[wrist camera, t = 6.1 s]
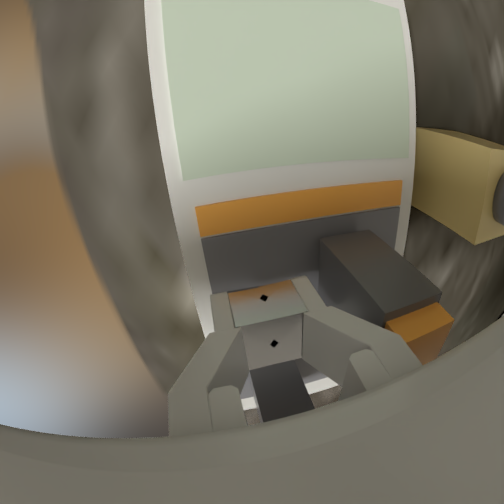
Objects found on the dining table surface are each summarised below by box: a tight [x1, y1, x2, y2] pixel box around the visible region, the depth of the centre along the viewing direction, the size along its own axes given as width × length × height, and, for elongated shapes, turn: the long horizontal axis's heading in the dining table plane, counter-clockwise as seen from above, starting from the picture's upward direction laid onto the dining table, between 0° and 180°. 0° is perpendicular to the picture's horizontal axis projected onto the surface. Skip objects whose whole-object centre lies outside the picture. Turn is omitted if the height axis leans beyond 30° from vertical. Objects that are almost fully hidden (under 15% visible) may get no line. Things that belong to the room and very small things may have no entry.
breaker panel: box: [144, 0, 416, 410], centre depth 11 cm, size 20×9×3 cm, turn 6°
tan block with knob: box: [411, 127, 504, 245], centre depth 10 cm, size 4×4×6 cm
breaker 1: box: [249, 360, 315, 423], centre depth 11 cm, size 3×2×4 cm, turn 6°
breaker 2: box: [318, 230, 454, 365], centre depth 8 cm, size 3×2×5 cm, turn 6°
